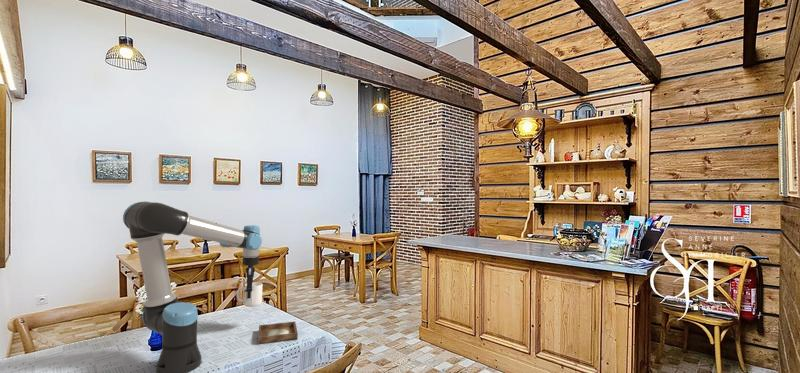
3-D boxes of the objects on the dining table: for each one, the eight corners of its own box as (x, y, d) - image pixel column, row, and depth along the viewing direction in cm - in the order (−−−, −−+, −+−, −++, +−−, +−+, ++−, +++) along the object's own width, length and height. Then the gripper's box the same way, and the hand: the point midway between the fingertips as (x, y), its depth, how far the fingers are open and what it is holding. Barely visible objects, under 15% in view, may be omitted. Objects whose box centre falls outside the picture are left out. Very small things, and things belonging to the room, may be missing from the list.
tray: (258, 344, 164) (258, 337, 164) (259, 331, 179) (259, 325, 179) (297, 339, 170) (297, 333, 170) (295, 327, 185) (295, 321, 185)
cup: (260, 306, 181) (261, 285, 181) (234, 307, 178) (235, 286, 178) (262, 301, 189) (263, 282, 189) (237, 302, 186) (238, 282, 186)
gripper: (258, 259, 175) (256, 307, 175) (259, 253, 195) (257, 296, 194) (241, 260, 173) (239, 308, 172) (244, 253, 193) (242, 297, 192)
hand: (249, 302), depth 183 cm, fingers closed on cup, 8 cm apart
